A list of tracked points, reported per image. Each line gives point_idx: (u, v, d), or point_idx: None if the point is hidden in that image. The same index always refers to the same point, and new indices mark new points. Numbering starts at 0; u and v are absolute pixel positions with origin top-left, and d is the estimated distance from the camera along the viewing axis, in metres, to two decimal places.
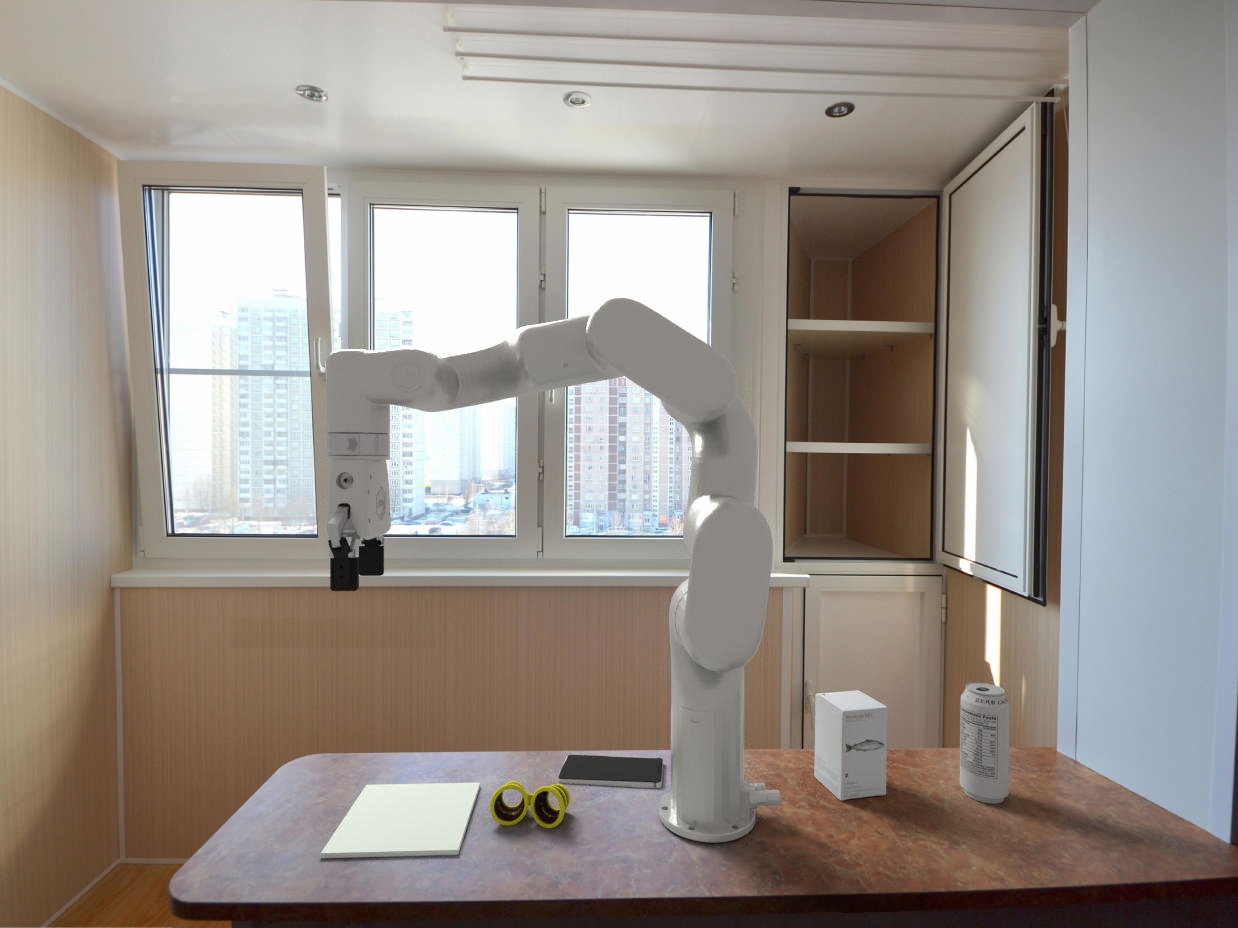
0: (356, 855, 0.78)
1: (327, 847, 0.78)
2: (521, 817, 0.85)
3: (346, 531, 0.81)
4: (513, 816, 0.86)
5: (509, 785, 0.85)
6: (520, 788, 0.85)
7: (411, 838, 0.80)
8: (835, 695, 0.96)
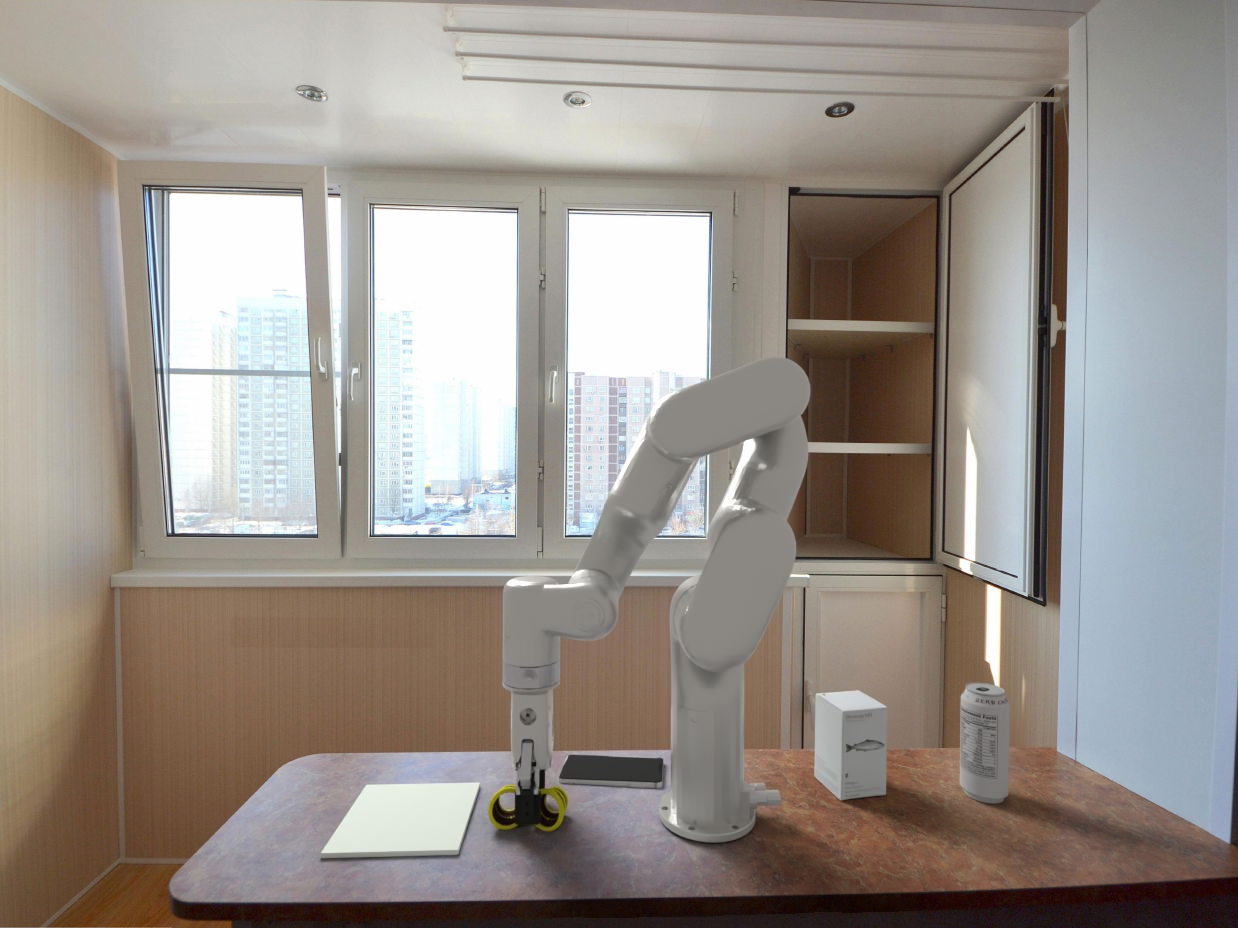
0: (356, 855, 0.78)
1: (327, 847, 0.78)
2: None
3: None
4: (511, 820, 0.85)
5: (507, 789, 0.84)
6: None
7: (411, 838, 0.80)
8: (835, 695, 0.96)
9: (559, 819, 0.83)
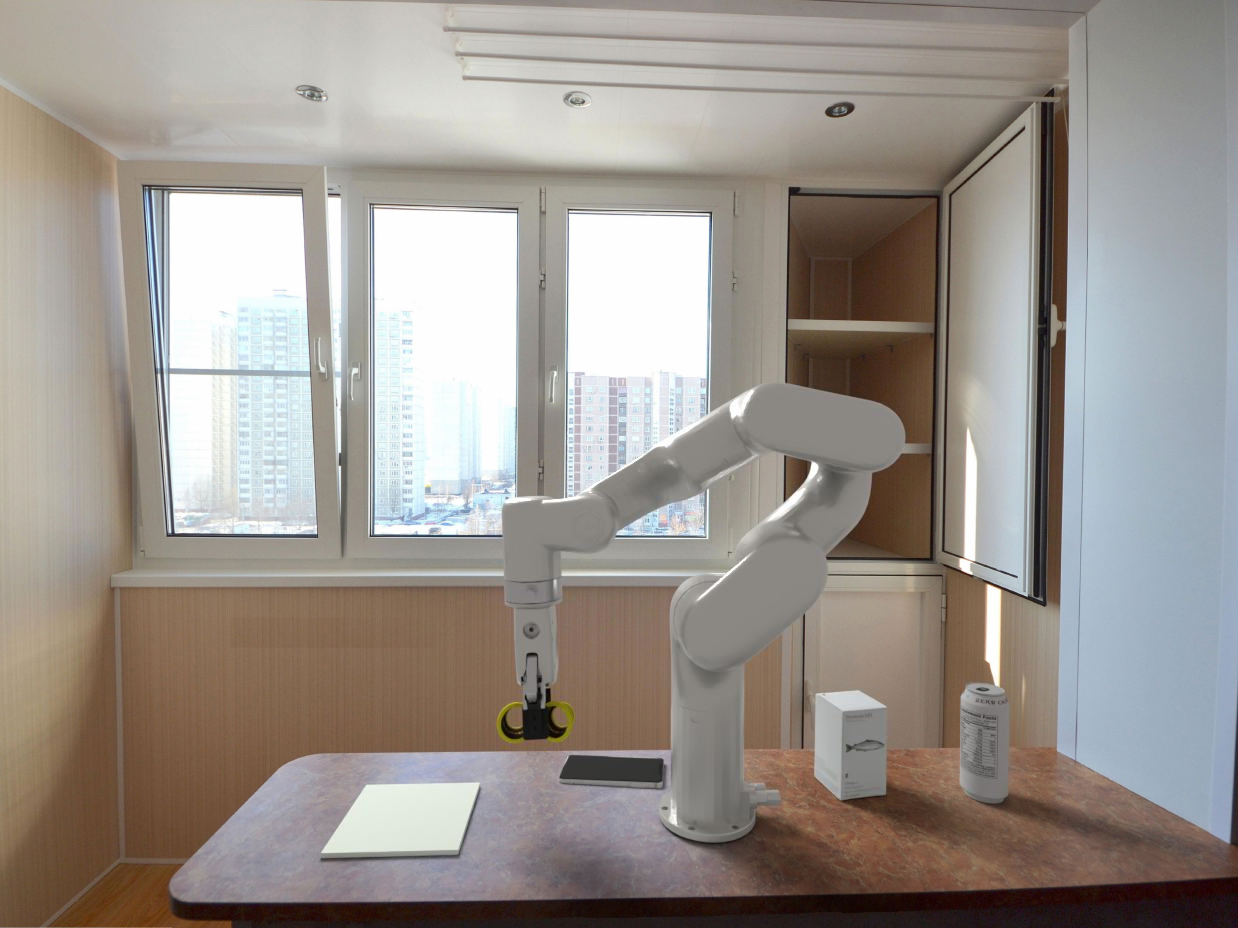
0: (356, 855, 0.78)
1: (327, 847, 0.78)
2: None
3: None
4: (519, 735, 0.86)
5: (515, 703, 0.85)
6: None
7: (411, 838, 0.80)
8: (835, 695, 0.96)
9: (568, 729, 0.83)
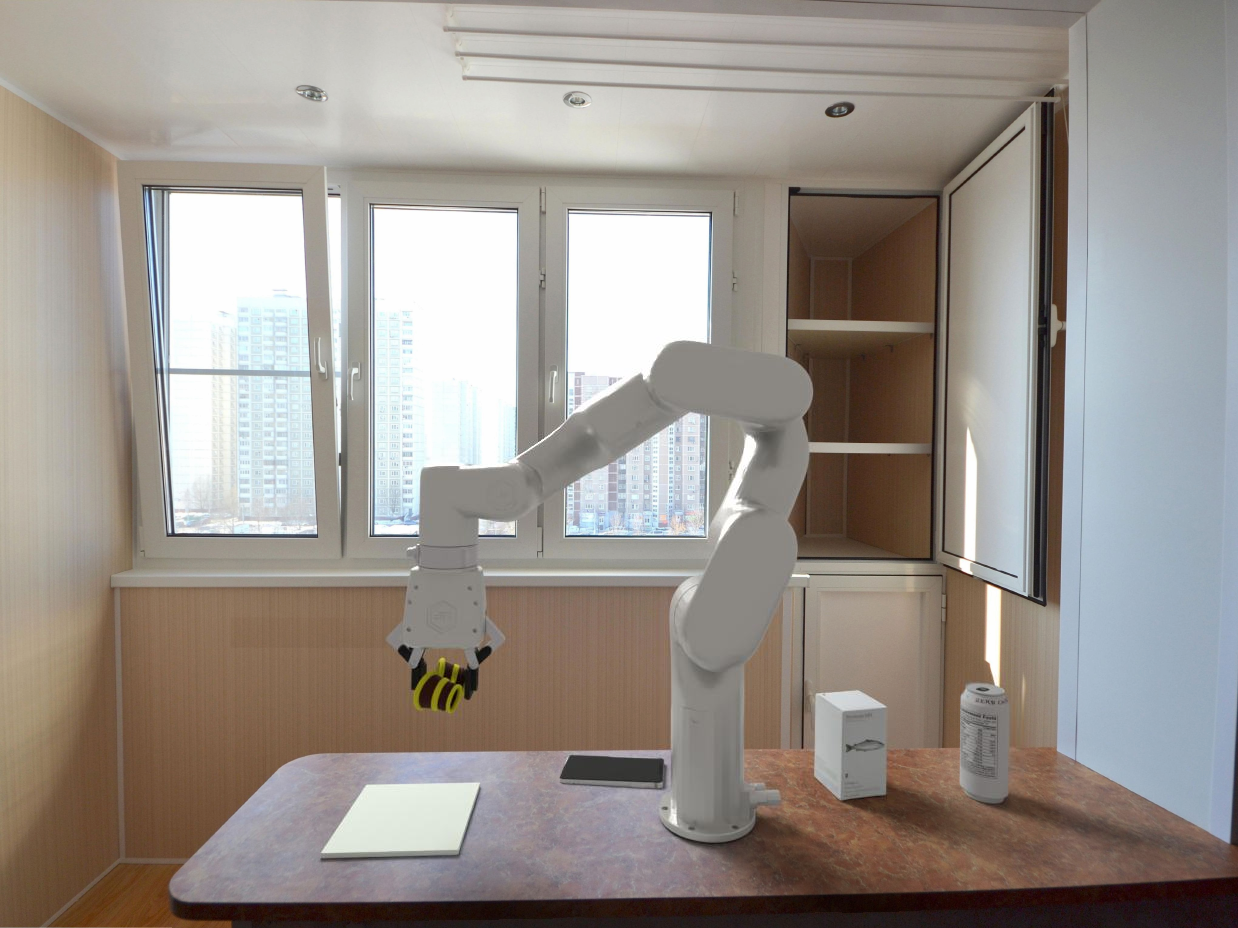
0: (356, 855, 0.78)
1: (327, 847, 0.78)
2: None
3: None
4: None
5: (441, 659, 0.88)
6: (440, 666, 0.87)
7: (411, 838, 0.80)
8: (835, 695, 0.96)
9: None
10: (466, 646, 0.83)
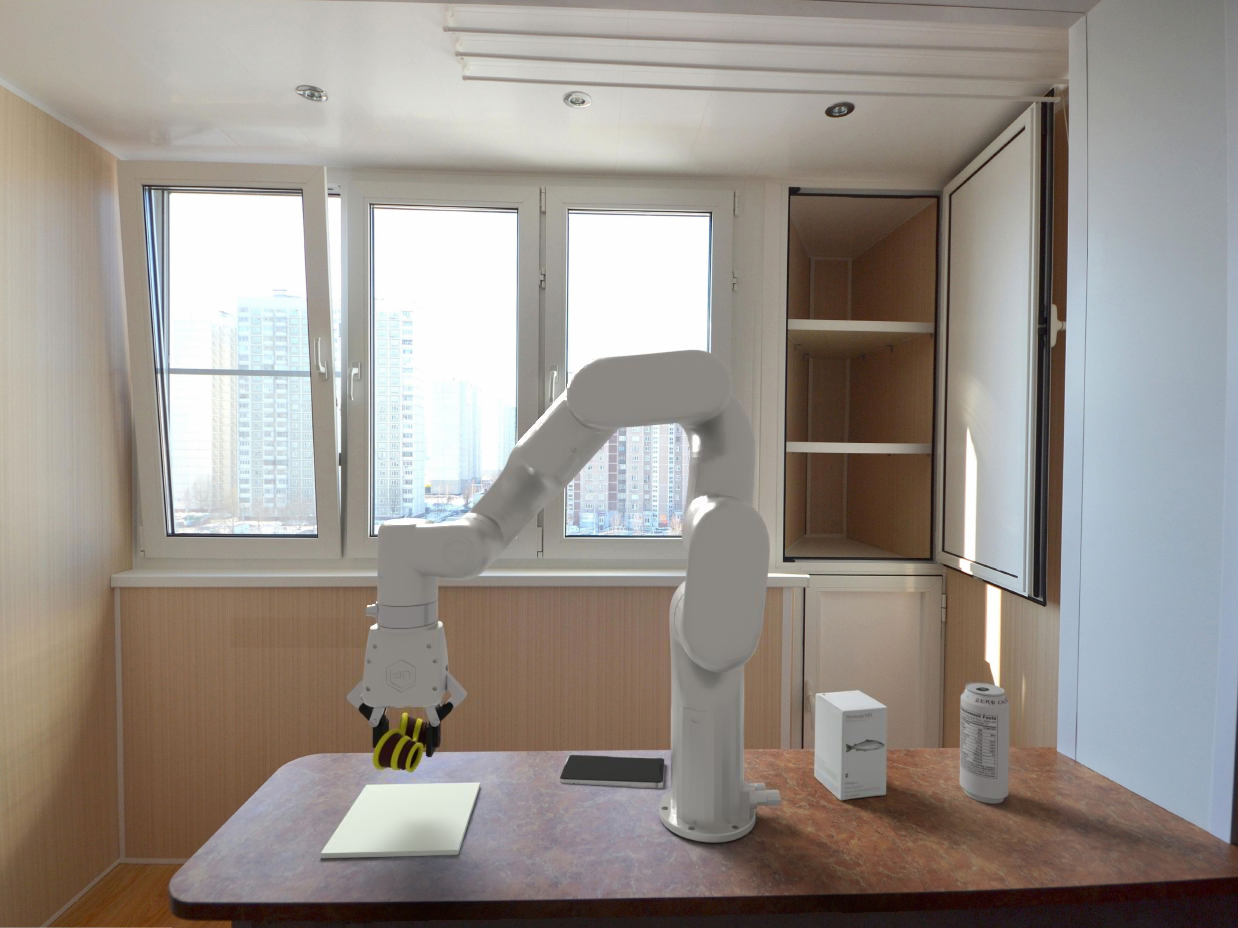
0: (356, 855, 0.78)
1: (327, 847, 0.78)
2: None
3: None
4: None
5: (403, 714, 0.88)
6: (402, 722, 0.87)
7: (411, 838, 0.80)
8: (835, 695, 0.96)
9: (373, 759, 0.81)
10: (426, 704, 0.83)
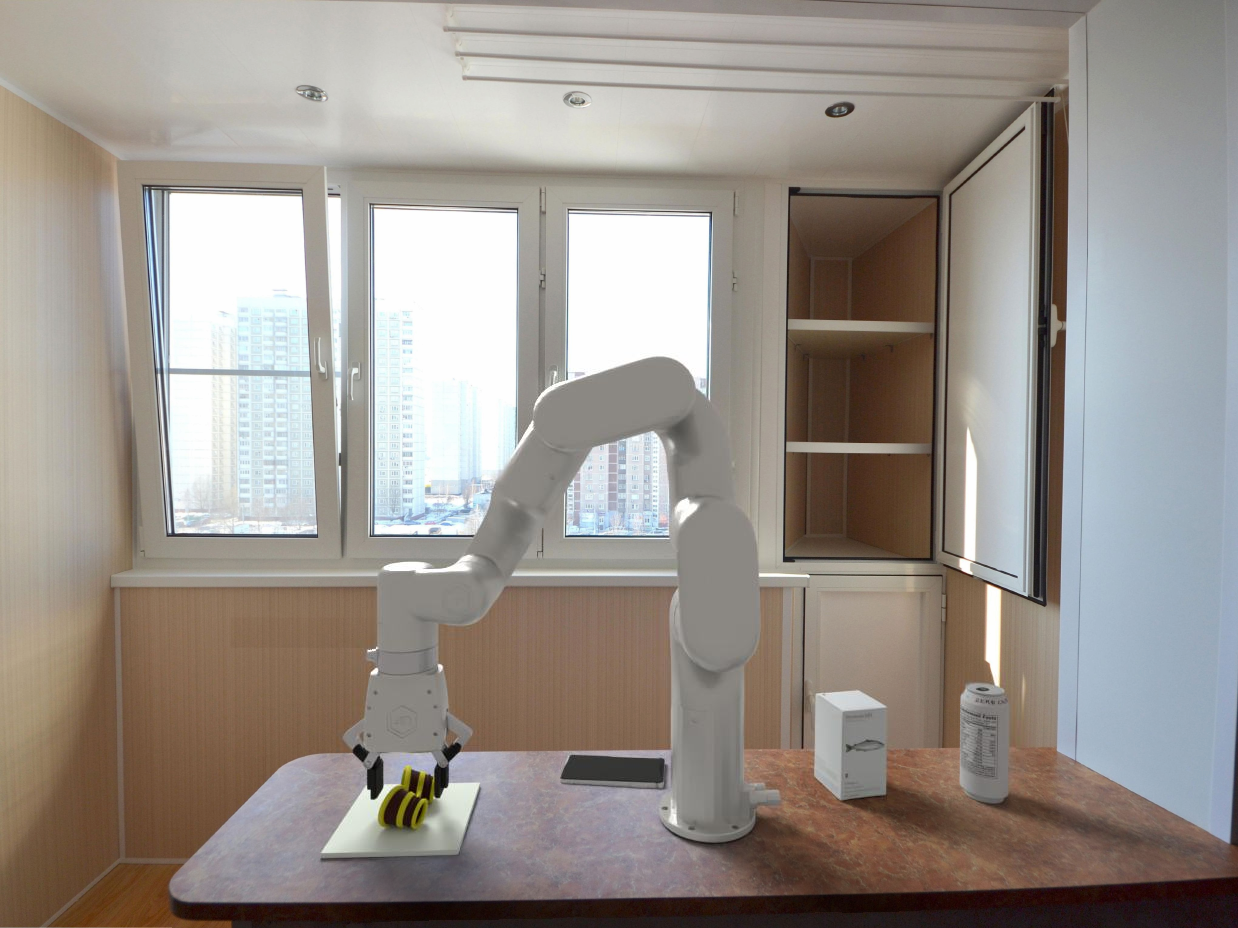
0: (356, 855, 0.78)
1: (327, 847, 0.78)
2: None
3: None
4: None
5: (406, 767, 0.88)
6: (406, 776, 0.87)
7: (411, 838, 0.80)
8: (835, 695, 0.96)
9: (378, 817, 0.81)
10: (427, 750, 0.83)
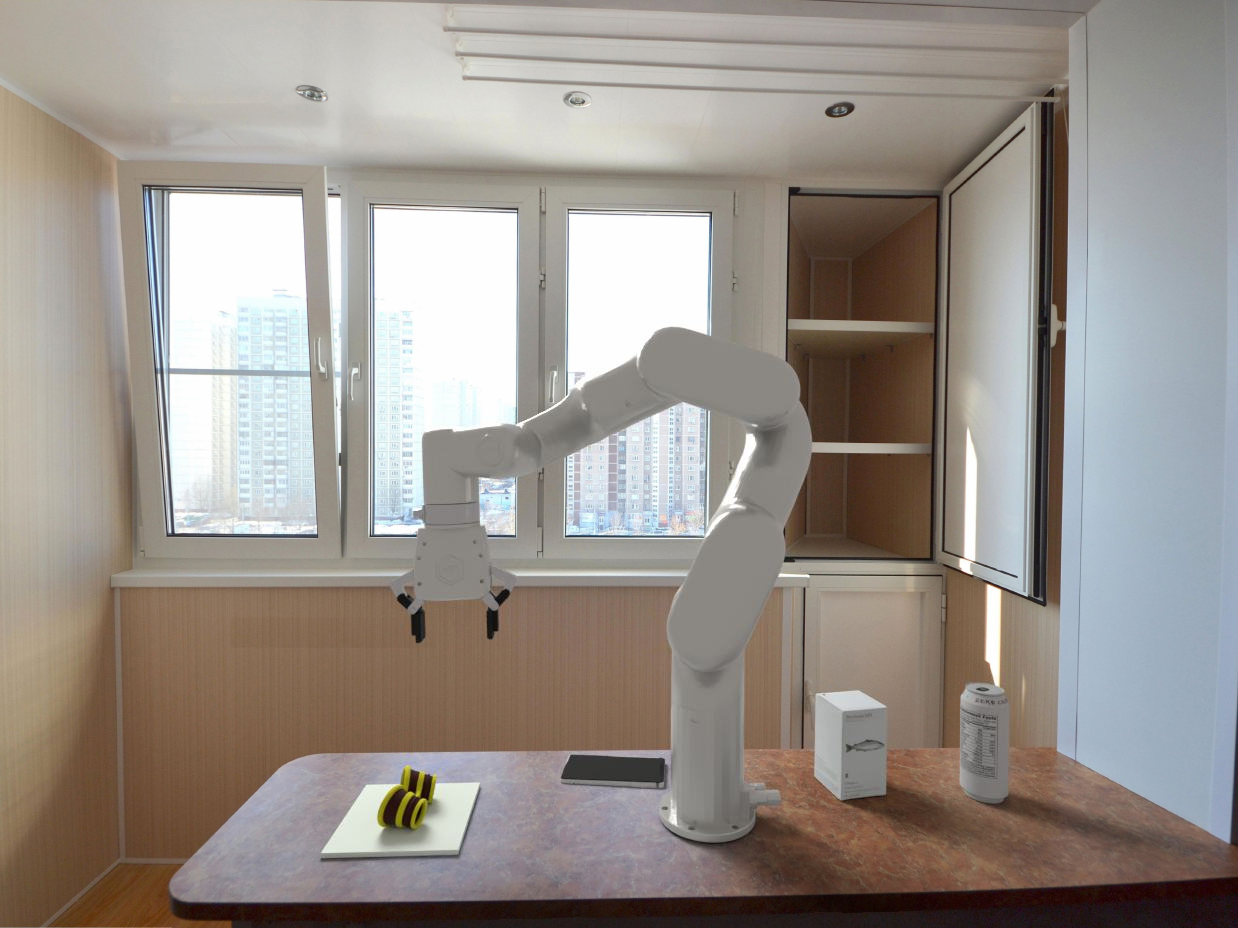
0: (356, 855, 0.78)
1: (327, 847, 0.78)
2: None
3: None
4: None
5: (406, 767, 0.88)
6: (405, 776, 0.87)
7: (411, 838, 0.80)
8: (835, 695, 0.96)
9: None
10: (474, 596, 0.89)
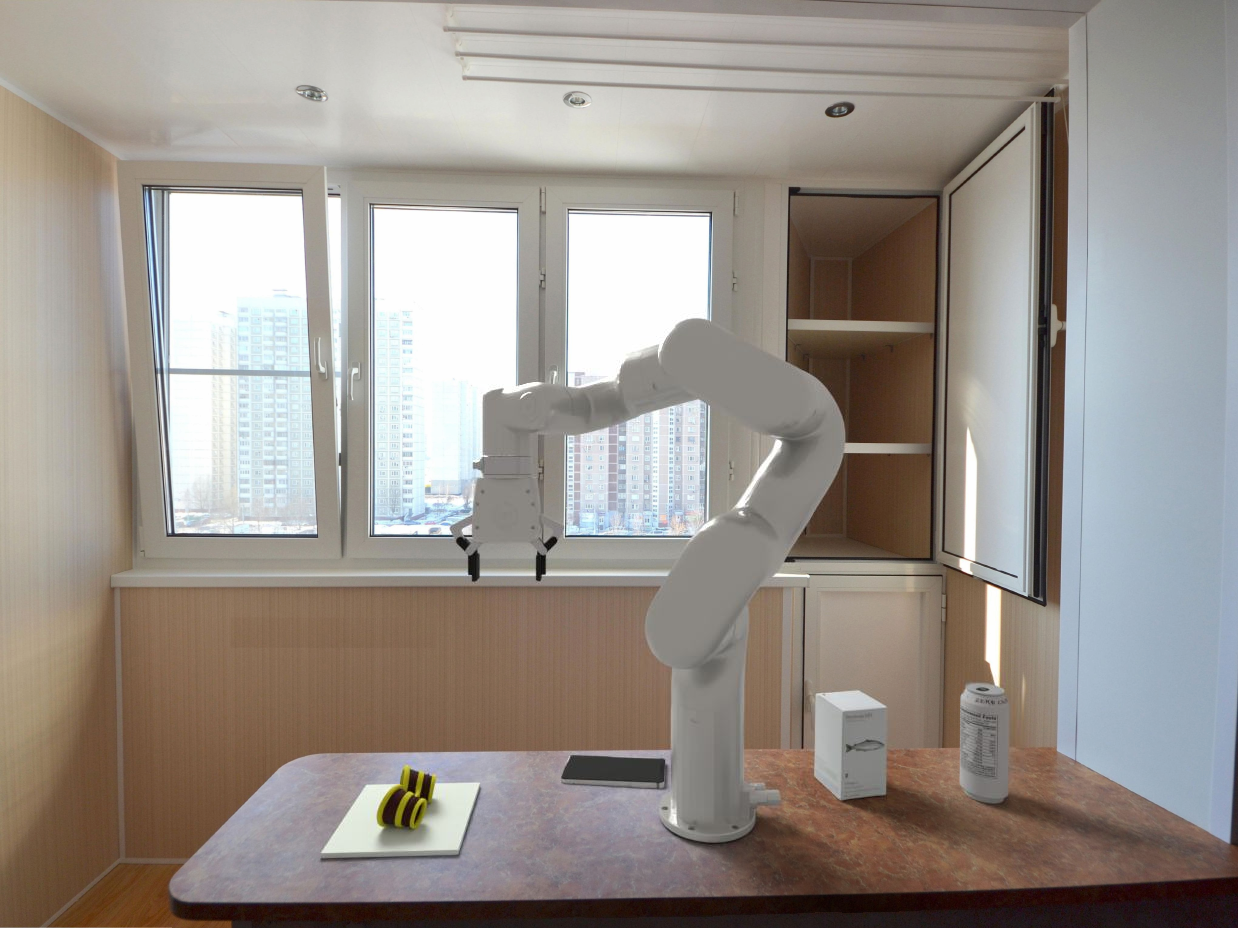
0: (356, 855, 0.78)
1: (327, 847, 0.78)
2: None
3: None
4: None
5: (405, 767, 0.88)
6: (405, 776, 0.87)
7: (411, 838, 0.80)
8: (835, 695, 0.96)
9: (377, 817, 0.81)
10: (526, 540, 0.98)
